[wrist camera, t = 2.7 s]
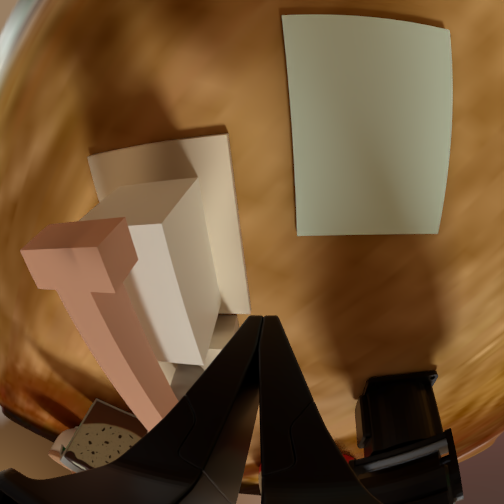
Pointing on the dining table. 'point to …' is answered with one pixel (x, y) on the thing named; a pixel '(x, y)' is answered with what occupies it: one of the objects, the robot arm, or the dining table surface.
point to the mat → (368, 123)
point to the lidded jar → (64, 440)
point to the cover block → (168, 266)
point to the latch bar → (103, 306)
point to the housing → (216, 214)
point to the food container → (101, 437)
